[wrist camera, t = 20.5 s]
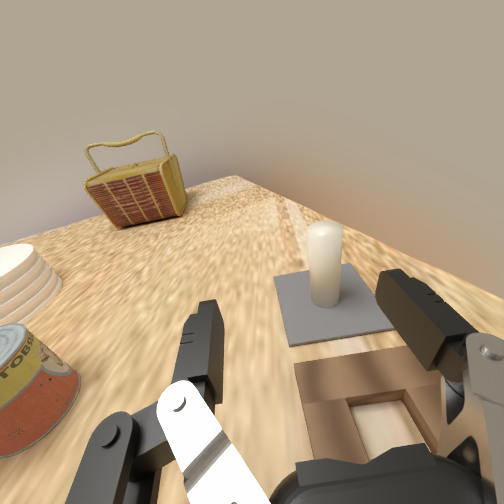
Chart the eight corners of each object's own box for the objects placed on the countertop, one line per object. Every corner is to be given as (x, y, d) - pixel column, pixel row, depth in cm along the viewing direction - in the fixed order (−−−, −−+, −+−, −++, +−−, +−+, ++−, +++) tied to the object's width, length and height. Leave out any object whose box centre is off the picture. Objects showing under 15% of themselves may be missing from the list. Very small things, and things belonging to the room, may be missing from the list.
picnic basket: (193, 198, 105) (169, 126, 88) (184, 220, 83) (150, 131, 67) (133, 210, 105) (98, 141, 89) (109, 236, 84) (57, 151, 67)
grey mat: (289, 347, 33) (288, 344, 33) (274, 278, 47) (273, 276, 46) (396, 329, 33) (397, 326, 32) (349, 265, 46) (350, 262, 46)
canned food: (90, 397, 32) (31, 350, 26) (-11, 483, 26) (-124, 449, 19) (71, 356, 39) (21, 311, 33) (-13, 416, 33) (-96, 374, 26)
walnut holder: (342, 587, 17) (344, 588, 15) (295, 373, 30) (293, 363, 29) (567, 563, 16) (590, 561, 14) (415, 354, 29) (419, 343, 28)
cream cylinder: (315, 310, 37) (313, 239, 30) (307, 290, 41) (303, 224, 34) (343, 305, 37) (348, 232, 30) (333, 286, 41) (335, 218, 34)
